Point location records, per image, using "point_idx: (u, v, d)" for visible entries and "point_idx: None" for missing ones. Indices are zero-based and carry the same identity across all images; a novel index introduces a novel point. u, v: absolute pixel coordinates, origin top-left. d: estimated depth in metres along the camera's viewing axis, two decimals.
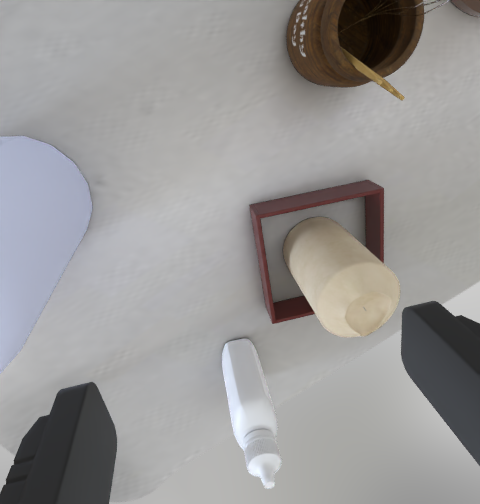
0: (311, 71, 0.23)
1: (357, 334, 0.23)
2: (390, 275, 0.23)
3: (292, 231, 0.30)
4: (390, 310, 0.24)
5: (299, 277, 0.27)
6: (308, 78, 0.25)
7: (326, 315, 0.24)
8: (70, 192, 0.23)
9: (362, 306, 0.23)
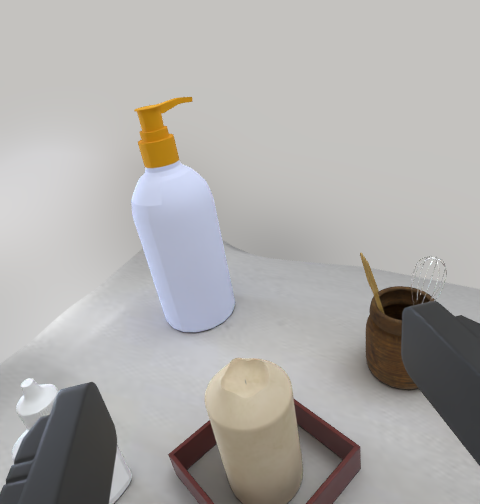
0: None
1: (219, 382, 0.23)
2: (287, 388, 0.23)
3: None
4: (257, 399, 0.22)
5: None
6: (367, 356, 0.34)
7: None
8: (220, 290, 0.42)
9: (246, 383, 0.24)
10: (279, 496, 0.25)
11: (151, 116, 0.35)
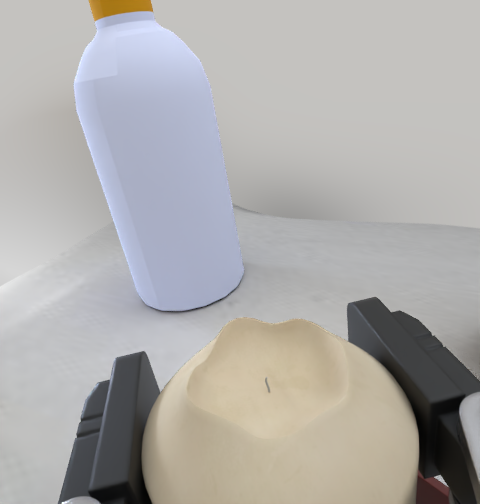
0: None
1: (185, 383, 0.07)
2: (402, 408, 0.07)
3: None
4: (312, 448, 0.06)
5: None
6: None
7: (202, 349, 0.09)
8: (220, 244, 0.26)
9: (270, 388, 0.08)
10: None
11: None
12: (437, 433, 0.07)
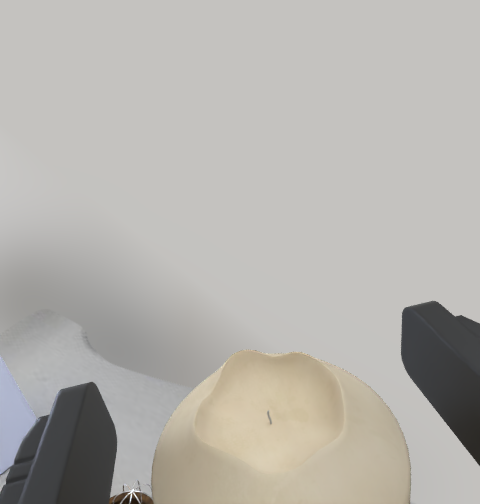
0: None
1: (192, 418, 0.08)
2: (395, 440, 0.08)
3: None
4: (312, 482, 0.07)
5: None
6: None
7: None
8: None
9: (272, 420, 0.08)
10: None
11: None
12: None
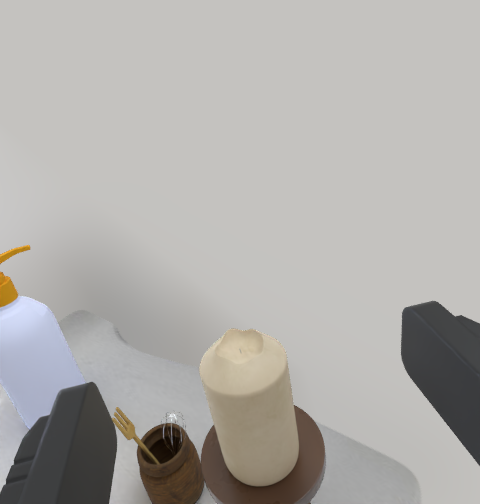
0: None
1: (214, 350, 0.23)
2: (281, 357, 0.23)
3: None
4: (251, 366, 0.22)
5: None
6: None
7: None
8: None
9: (241, 352, 0.24)
10: (273, 471, 0.25)
11: None
12: None
